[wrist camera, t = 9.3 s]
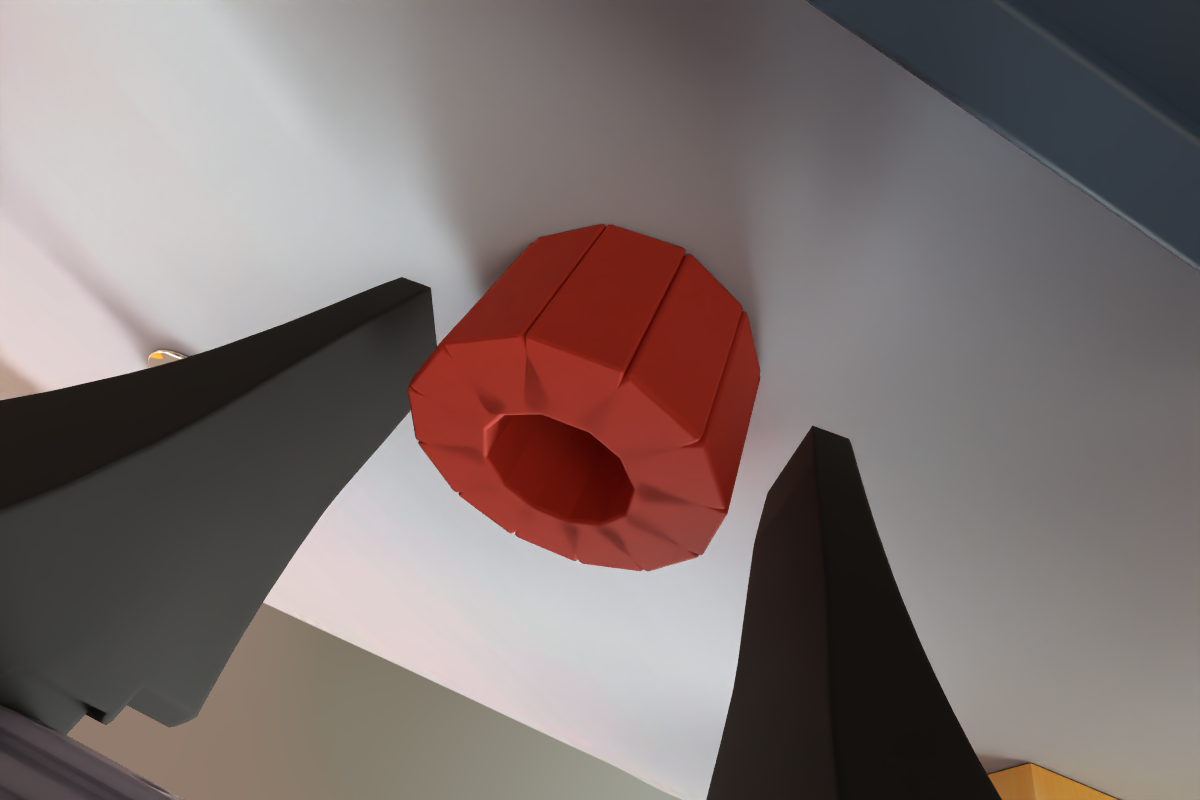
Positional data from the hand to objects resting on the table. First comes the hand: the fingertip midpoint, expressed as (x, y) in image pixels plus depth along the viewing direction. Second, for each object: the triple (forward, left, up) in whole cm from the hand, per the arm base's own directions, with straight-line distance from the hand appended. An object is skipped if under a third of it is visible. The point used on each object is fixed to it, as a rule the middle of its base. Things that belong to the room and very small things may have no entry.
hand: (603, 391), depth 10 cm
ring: (0, 0, -1) cm, 1 cm away
